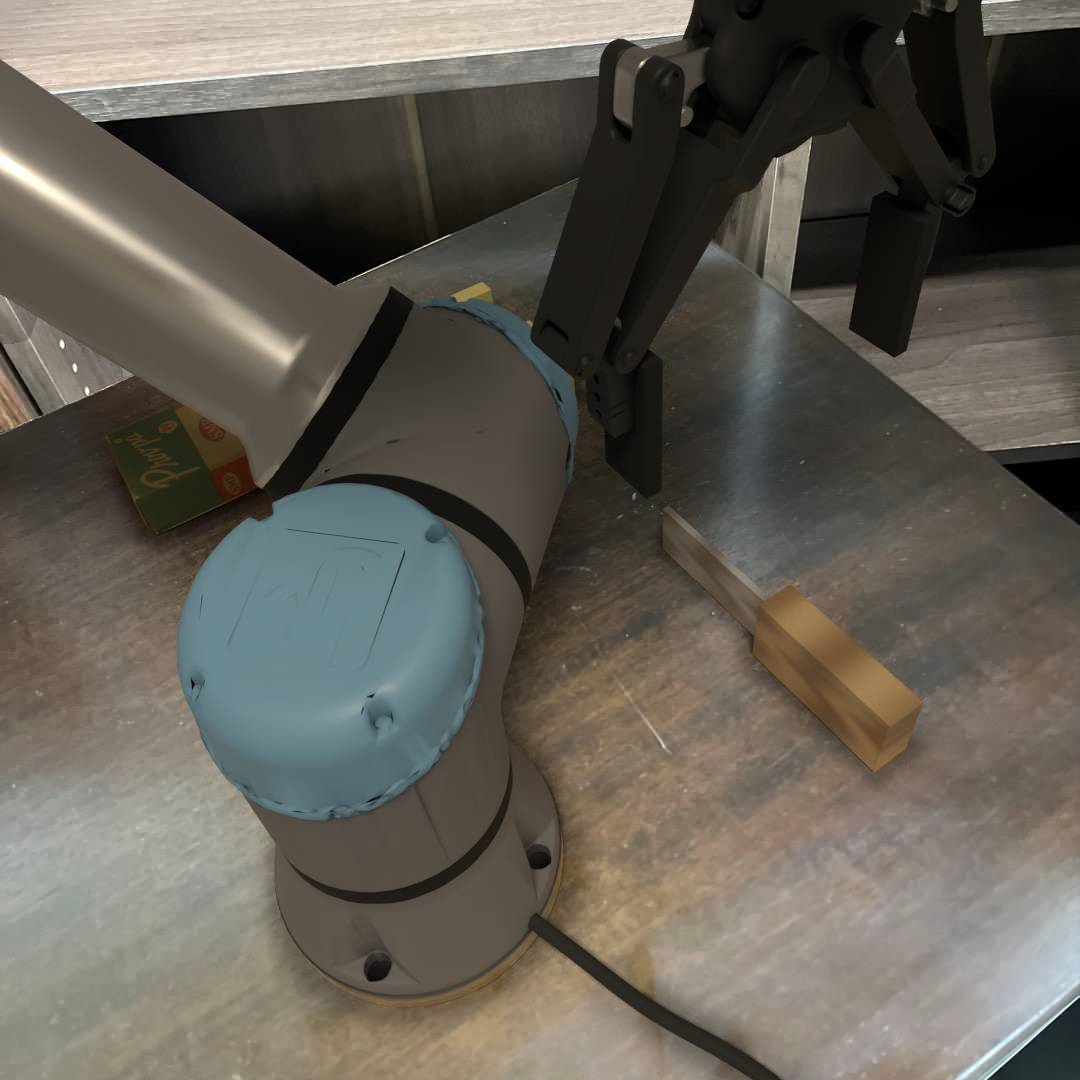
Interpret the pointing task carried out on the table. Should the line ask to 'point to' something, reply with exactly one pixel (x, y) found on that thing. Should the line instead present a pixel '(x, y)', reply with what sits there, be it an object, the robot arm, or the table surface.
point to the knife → (805, 651)
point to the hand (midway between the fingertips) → (761, 405)
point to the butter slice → (475, 293)
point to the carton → (179, 466)
